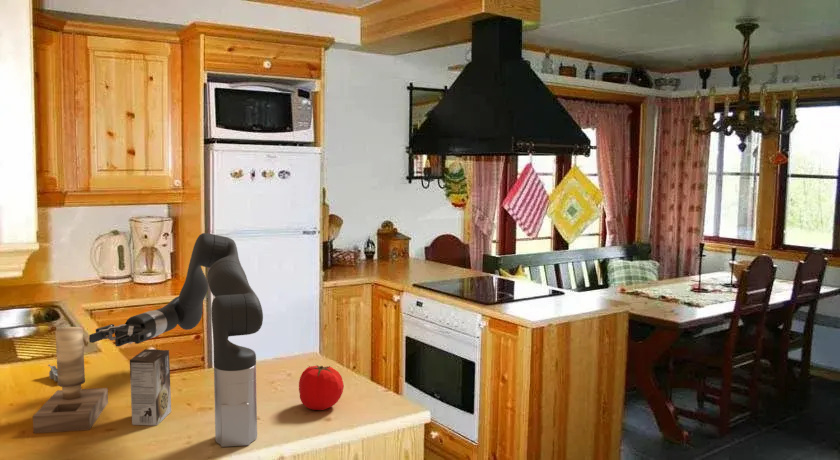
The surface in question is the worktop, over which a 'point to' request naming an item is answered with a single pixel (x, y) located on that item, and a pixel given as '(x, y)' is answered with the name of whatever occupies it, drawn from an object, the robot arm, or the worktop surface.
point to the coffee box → (150, 387)
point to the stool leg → (70, 361)
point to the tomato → (320, 387)
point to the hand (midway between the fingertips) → (103, 340)
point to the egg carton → (53, 373)
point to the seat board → (70, 411)
